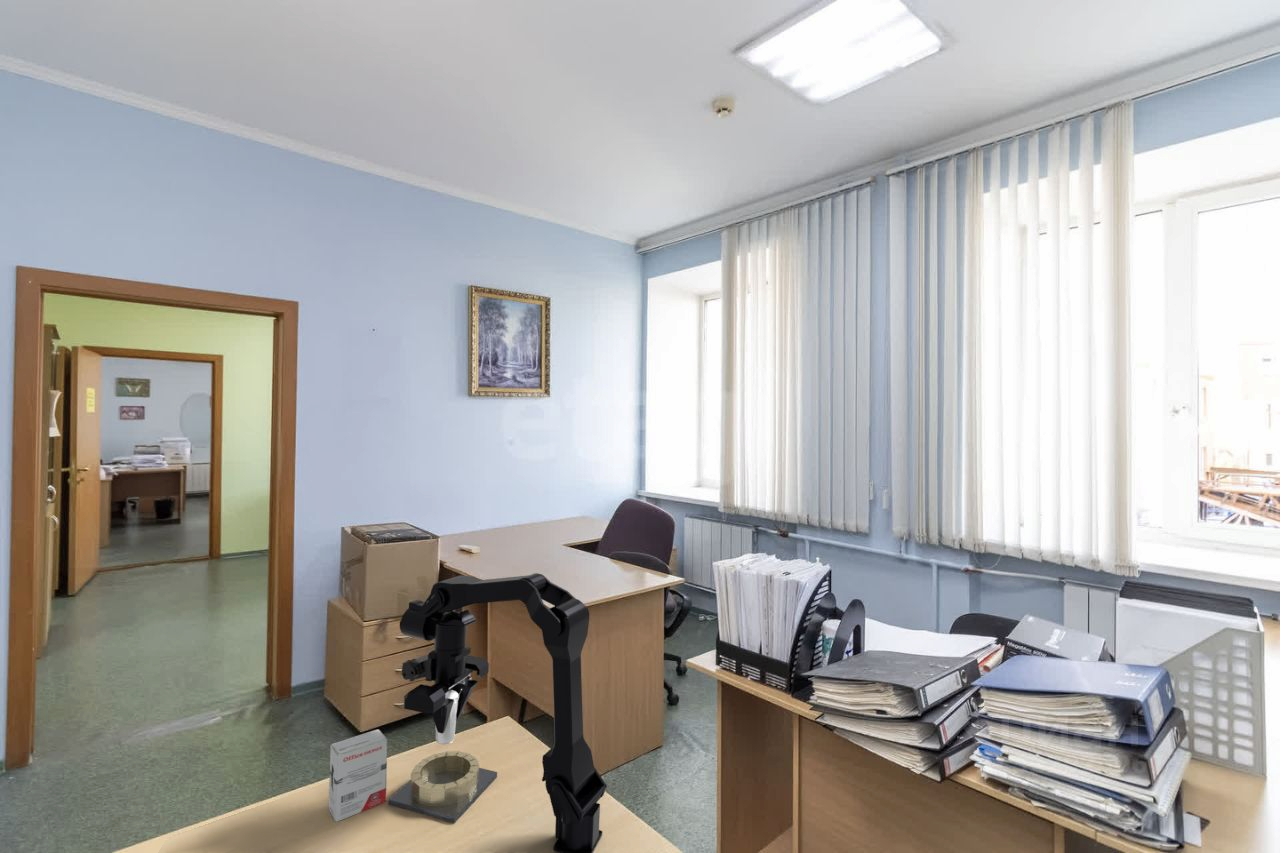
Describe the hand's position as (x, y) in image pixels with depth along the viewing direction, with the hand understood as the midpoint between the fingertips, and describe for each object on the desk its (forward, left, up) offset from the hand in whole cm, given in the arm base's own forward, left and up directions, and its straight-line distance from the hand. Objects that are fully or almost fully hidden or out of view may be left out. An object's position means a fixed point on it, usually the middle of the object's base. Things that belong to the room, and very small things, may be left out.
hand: (447, 727), depth 110 cm
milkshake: (0, 0, -3) cm, 3 cm away
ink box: (+12, +9, -12) cm, 19 cm away
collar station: (0, 0, -12) cm, 12 cm away
